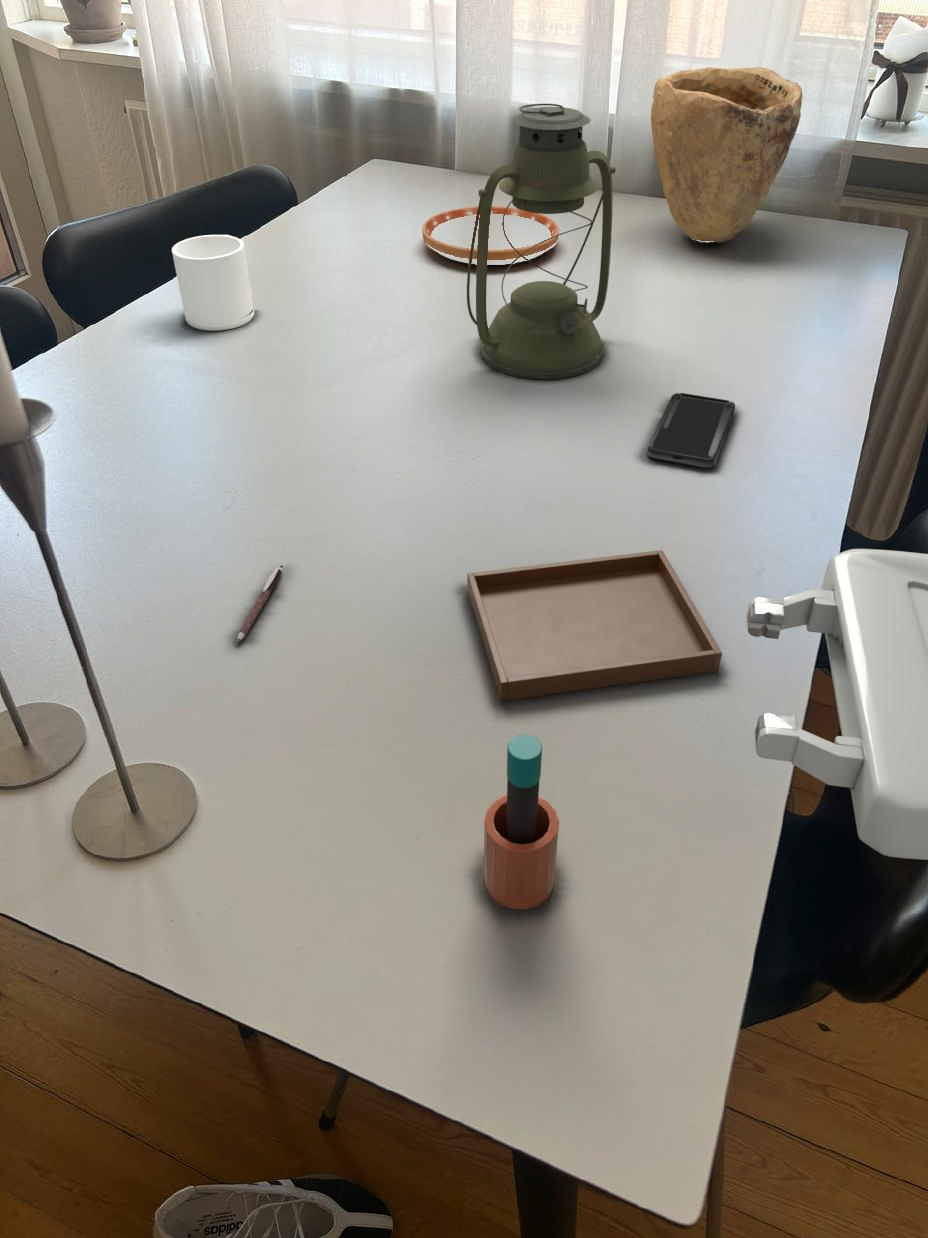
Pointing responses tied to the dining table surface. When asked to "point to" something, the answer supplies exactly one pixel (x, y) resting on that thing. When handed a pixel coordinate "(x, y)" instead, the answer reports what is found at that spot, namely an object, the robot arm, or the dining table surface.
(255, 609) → the pen
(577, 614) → the tray
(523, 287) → the lantern
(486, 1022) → the dining table surface
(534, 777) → the marker
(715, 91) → the rough clay pot
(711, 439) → the phone
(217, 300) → the mug
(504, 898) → the pen cup
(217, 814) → the dining table surface
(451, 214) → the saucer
